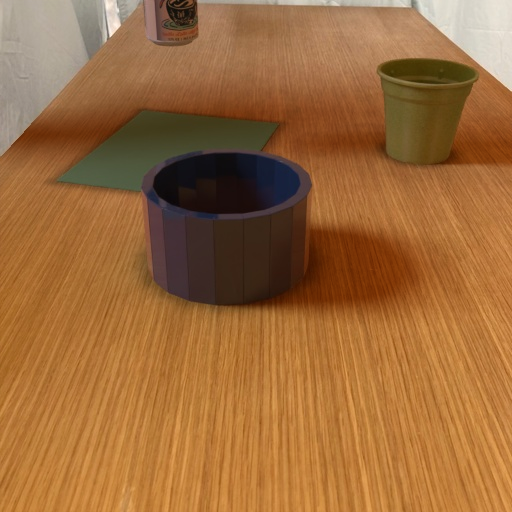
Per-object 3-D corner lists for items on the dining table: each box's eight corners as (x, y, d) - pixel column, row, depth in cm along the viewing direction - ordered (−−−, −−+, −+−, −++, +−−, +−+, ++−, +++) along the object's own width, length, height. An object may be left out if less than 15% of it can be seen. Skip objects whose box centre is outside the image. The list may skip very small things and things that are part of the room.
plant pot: (351, 146, 71) (358, 62, 67) (427, 134, 75) (439, 53, 70) (402, 182, 64) (414, 89, 60) (484, 166, 67) (501, 77, 63)
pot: (123, 296, 48) (112, 206, 44) (181, 220, 57) (177, 141, 54) (287, 323, 45) (291, 229, 42) (320, 239, 55) (325, 157, 51)
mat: (56, 186, 63) (55, 180, 62) (143, 115, 79) (143, 110, 79) (225, 207, 59) (225, 201, 59) (279, 128, 76) (279, 123, 76)
